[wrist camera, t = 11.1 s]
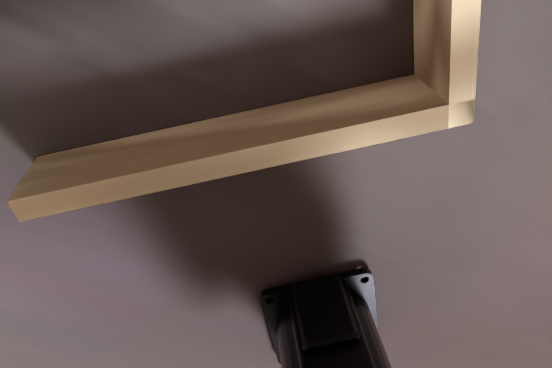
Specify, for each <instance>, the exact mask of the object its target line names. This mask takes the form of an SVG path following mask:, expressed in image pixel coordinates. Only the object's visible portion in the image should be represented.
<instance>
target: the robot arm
mask: <svg viewBox="0 0 552 368" xmlns="http://www.w3.org/2000/svg"><path fill="white" fill-rule="evenodd" d="M362 277H365V278H362ZM269 297H271V298H269ZM267 298H269V299H267ZM260 299H261V305H262V308H263V311H264V315H265V318H266V322H267V325H268V328H269V332H270V335H271V339H272V342H273V345H274V349H275V352H276V356H277V359H278V362H279V363H280V364H281V367H282V368H391V365H390V362H389V360H388V357H387V354H386V352H385V349H384V346H383V344H382V341H381V338H380V336H379V333H378V323H377V312H376V301H375V289H374V278H373V276H372V273H371V271H370V270H369V269H366V268H365V269H358V270H354V271H349V272H345V273H340V274H335V275H331V276H326V277H322V278H317V279H312V280H308V281H303V282H299V283H294V284H289V285H285V286H280V287H276V288H271V289H267V290H264V291H263V292H262V293H261V294H260Z"/></svg>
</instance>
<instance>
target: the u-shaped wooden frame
mask: <svg viewBox="0 0 552 368" xmlns="http://www.w3.org/2000/svg"><path fill="white" fill-rule="evenodd" d="M480 13H481V0H413V20H414V74H413V75H408V76H404V77H399V78H395V79H390V80H386V81H381V82H376V83H372V84H367V85H363V86H358V87H354V88H349V89H344V90H340V91H335V92H331V93H326V94H322V95H317V96H312V97H308V98H303V99H299V100H294V101H290V102H285V103H280V104H276V105H271V106H267V107H262V108H258V109H253V110H248V111H244V112H239V113H235V114H230V115H226V116H221V117H216V118H212V119H207V120H203V121H198V122H194V123H189V124H184V125H180V126H175V127H171V128H166V129H162V130H157V131H152V132H148V133H143V134H139V135H134V136H130V137H125V138H120V139H116V140H111V141H107V142H102V143H98V144H93V145H88V146H84V147H79V148H75V149H70V150H66V151H61V152H56V153H52V154H47V155H43V156H38V157H37V158H36V159H35V161H34V162H33V164H32V165H31V166H30V168H29V169H28V171H27V172H26V174H25V175H24V177H23V178H22V180H21V181H20V182H19V184H18V185H17V187H16V188H15V190H14V191H13V193H12V194H11V195H10V197H9V198H8V200H7V201H6V202H7V203H8V205H9V206H10V208H11V210H12V211H13V213H14V214H15V216H16V217H17V219H18V221H19V222H22V221H26V220H31V219H36V218H40V217H45V216H49V215H54V214H59V213H63V212H68V211H72V210H77V209H81V208H86V207H91V206H95V205H100V204H104V203H109V202H114V201H118V200H123V199H127V198H132V197H136V196H141V195H146V194H150V193H155V192H159V191H164V190H168V189H173V188H178V187H182V186H187V185H191V184H196V183H201V182H205V181H210V180H214V179H219V178H223V177H228V176H233V175H237V174H242V173H246V172H251V171H256V170H260V169H265V168H269V167H274V166H278V165H283V164H288V163H292V162H297V161H301V160H306V159H311V158H315V157H320V156H324V155H329V154H333V153H338V152H343V151H347V150H352V149H356V148H361V147H366V146H370V145H375V144H379V143H384V142H388V141H393V140H398V139H402V138H407V137H411V136H416V135H420V134H425V133H430V132H434V131H439V130H443V129H448V128H453V127H457V126H462V125H466V124H471V123H474V108H475V92H476V76H477V61H478V45H479V29H480Z"/></svg>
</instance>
